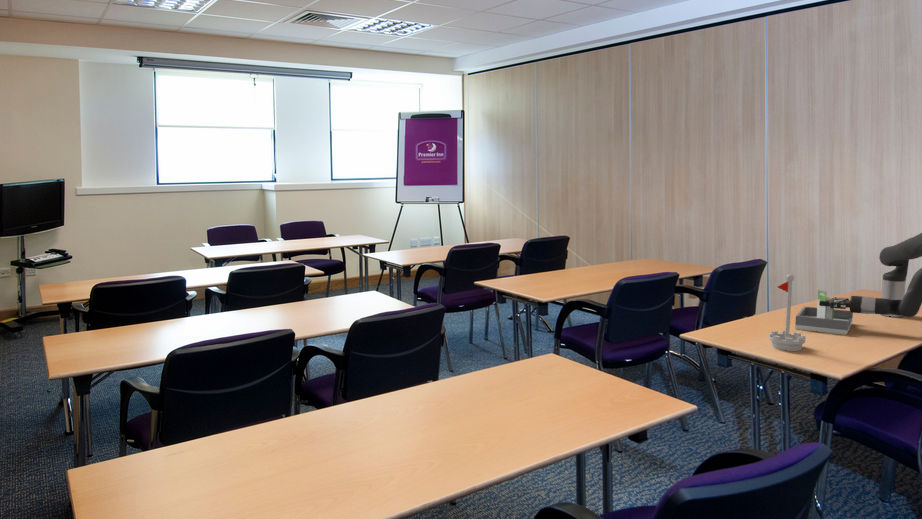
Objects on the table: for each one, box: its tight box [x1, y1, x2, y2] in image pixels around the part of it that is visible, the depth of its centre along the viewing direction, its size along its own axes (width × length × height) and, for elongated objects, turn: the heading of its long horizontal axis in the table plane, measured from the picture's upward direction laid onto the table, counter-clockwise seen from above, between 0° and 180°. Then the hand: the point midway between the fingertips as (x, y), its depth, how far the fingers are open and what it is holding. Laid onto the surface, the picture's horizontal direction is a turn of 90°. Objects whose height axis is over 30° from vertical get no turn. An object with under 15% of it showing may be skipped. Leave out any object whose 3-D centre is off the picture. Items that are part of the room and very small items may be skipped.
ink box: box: [816, 289, 835, 319], centre depth 289 cm, size 7×4×13 cm, turn 179°
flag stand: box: [768, 273, 806, 352], centre depth 256 cm, size 13×13×30 cm
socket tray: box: [794, 306, 854, 336], centre depth 290 cm, size 24×20×6 cm
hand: (820, 301), depth 290 cm, fingers closed on ink box, 8 cm apart
